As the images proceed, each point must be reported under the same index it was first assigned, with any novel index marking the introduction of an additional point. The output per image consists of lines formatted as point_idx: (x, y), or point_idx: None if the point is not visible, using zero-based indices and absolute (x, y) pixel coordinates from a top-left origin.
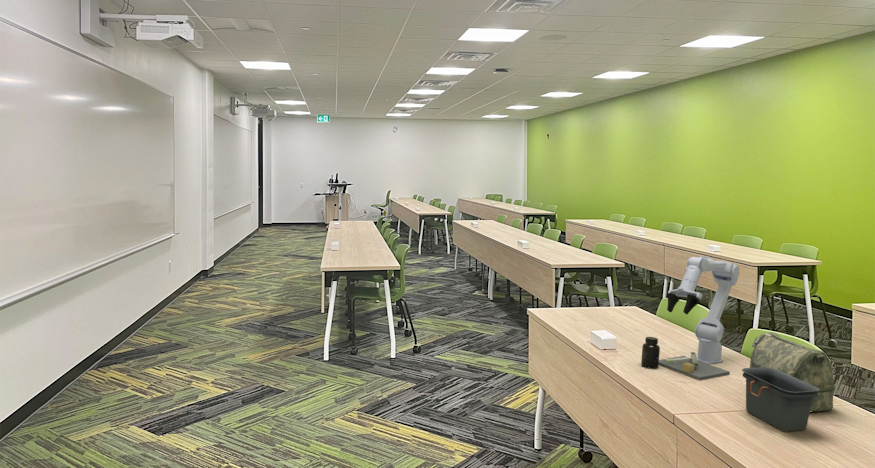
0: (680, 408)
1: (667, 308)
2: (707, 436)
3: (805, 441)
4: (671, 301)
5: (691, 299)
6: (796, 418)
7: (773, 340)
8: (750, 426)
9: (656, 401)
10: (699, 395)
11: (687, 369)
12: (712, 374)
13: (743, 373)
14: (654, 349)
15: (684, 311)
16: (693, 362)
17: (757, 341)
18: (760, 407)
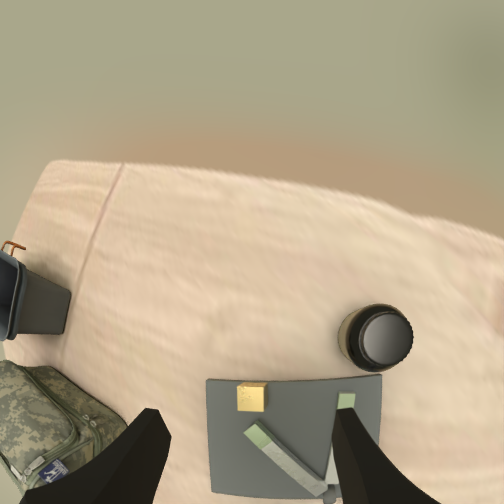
0: (127, 187)
1: (354, 415)
2: (75, 163)
3: None
4: (358, 494)
5: (53, 485)
6: (13, 284)
7: (2, 442)
8: (54, 244)
9: (166, 166)
10: (142, 279)
11: (247, 384)
12: (210, 435)
13: (22, 269)
14: (347, 326)
15: (144, 409)
16: (257, 428)
17: (37, 458)
18: (40, 278)
